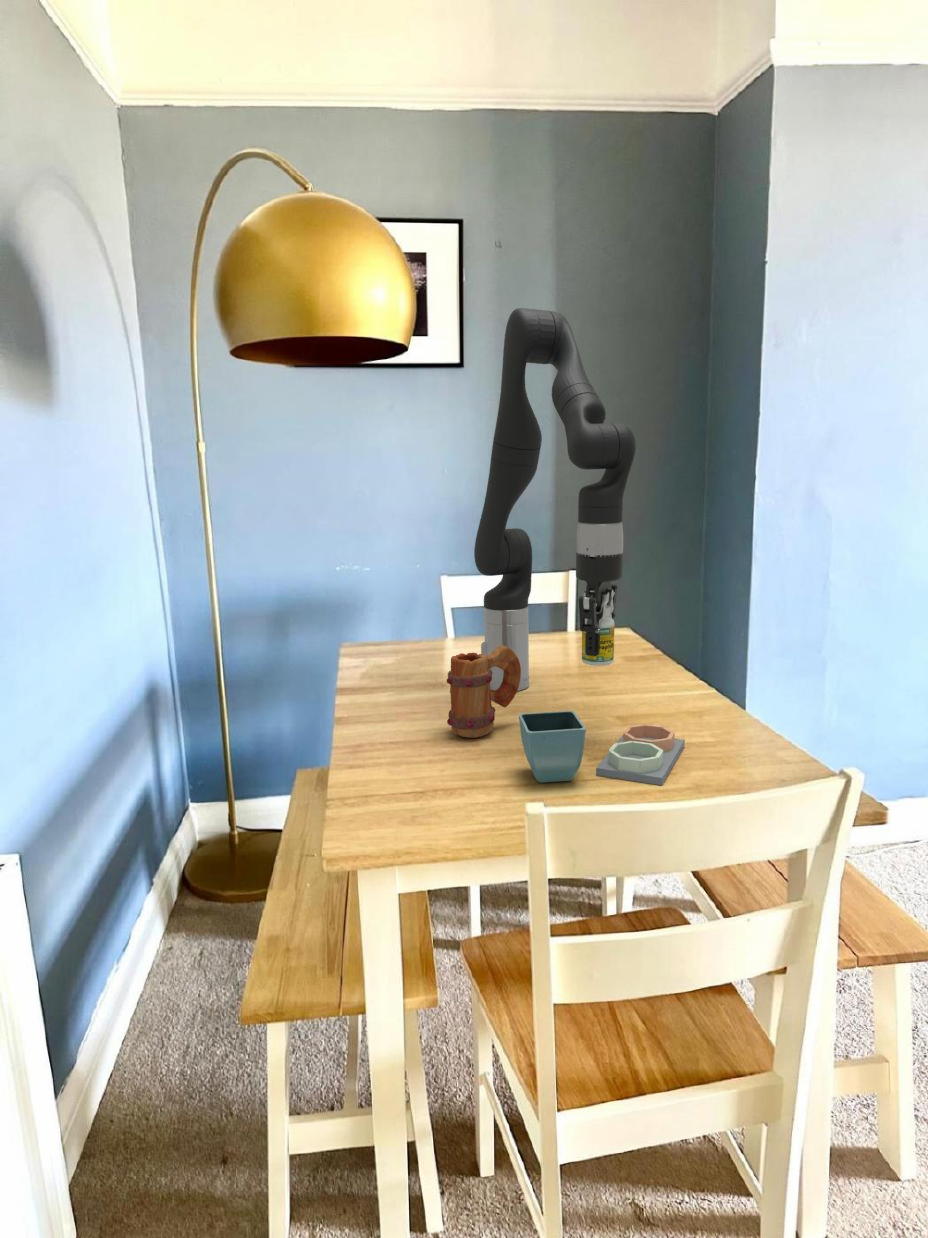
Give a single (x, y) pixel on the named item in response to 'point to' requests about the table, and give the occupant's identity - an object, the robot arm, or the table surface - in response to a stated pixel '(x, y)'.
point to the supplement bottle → (602, 642)
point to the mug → (480, 689)
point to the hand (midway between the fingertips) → (597, 650)
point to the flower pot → (553, 744)
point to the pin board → (642, 755)
